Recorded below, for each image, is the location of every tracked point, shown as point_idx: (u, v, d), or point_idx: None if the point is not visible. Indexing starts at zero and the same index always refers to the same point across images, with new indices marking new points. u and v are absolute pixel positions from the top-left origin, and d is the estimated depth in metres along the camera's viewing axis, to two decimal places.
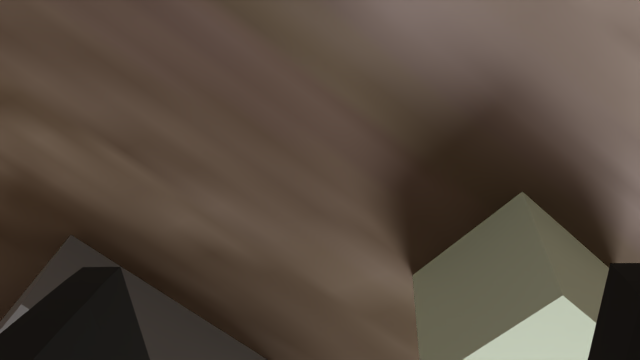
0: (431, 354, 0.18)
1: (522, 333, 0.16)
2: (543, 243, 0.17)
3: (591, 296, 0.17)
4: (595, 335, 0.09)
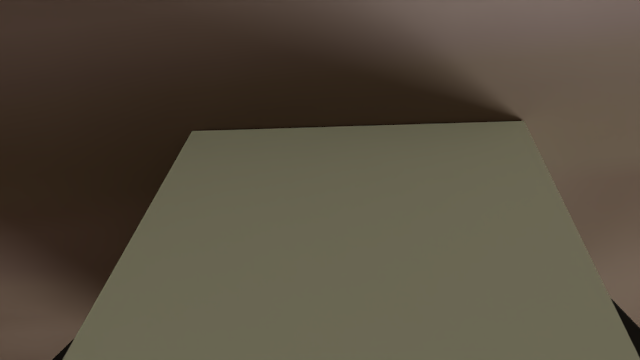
0: None
1: None
2: (135, 240, 0.07)
3: (280, 289, 0.06)
4: None
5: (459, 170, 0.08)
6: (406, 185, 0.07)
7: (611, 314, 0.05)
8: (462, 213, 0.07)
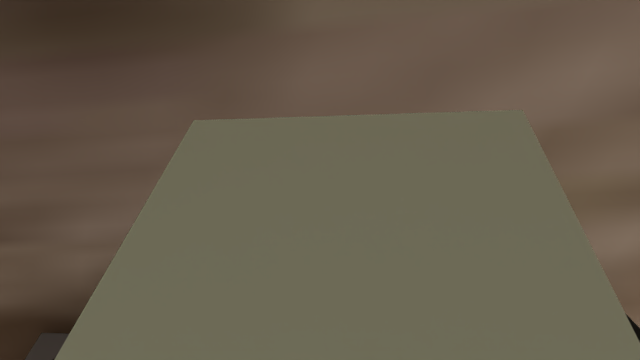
0: None
1: None
2: (138, 224, 0.07)
3: (282, 270, 0.06)
4: None
5: (458, 157, 0.08)
6: (406, 171, 0.08)
7: (607, 293, 0.05)
8: (461, 198, 0.07)
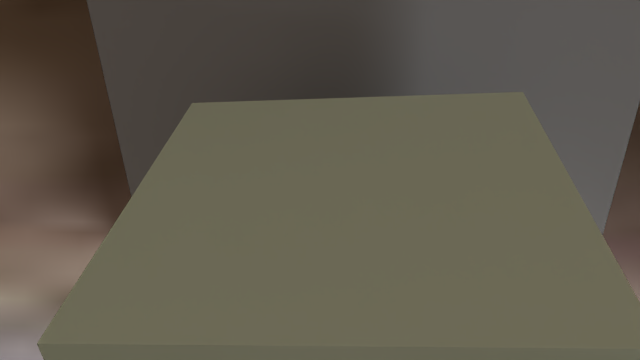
0: None
1: None
2: (135, 199, 0.07)
3: (279, 241, 0.06)
4: None
5: (458, 135, 0.08)
6: (405, 149, 0.07)
7: (609, 261, 0.05)
8: (461, 173, 0.07)
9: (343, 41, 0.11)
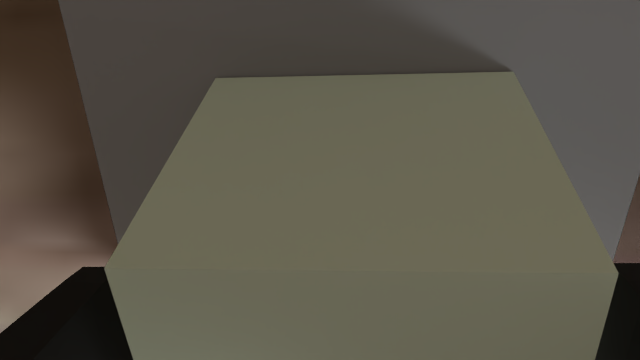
0: None
1: None
2: (173, 158, 0.08)
3: (301, 192, 0.07)
4: None
5: (455, 108, 0.09)
6: (408, 119, 0.09)
7: (579, 209, 0.06)
8: (457, 139, 0.08)
9: (338, 62, 0.10)
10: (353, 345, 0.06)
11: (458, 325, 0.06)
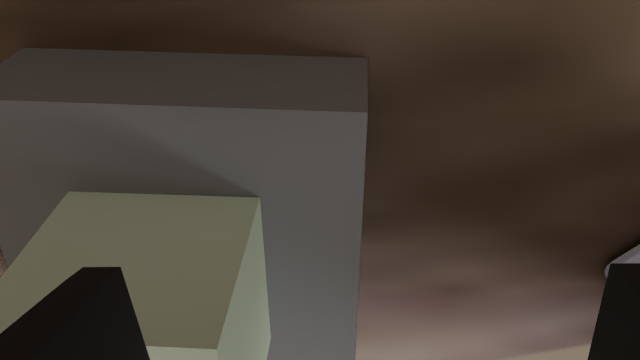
0: None
1: None
2: (17, 260, 0.13)
3: None
4: (595, 335, 0.09)
5: (204, 228, 0.14)
6: (171, 235, 0.14)
7: (226, 308, 0.12)
8: (191, 254, 0.13)
9: (149, 176, 0.15)
10: None
11: None
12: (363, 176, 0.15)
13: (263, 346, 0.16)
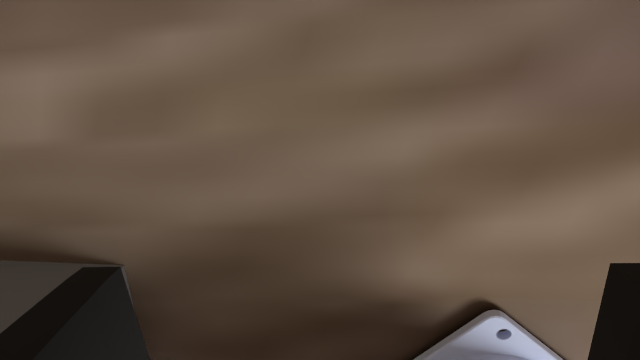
0: None
1: None
2: None
3: None
4: (595, 335, 0.09)
5: None
6: None
7: None
8: None
9: None
10: None
11: None
12: None
13: None
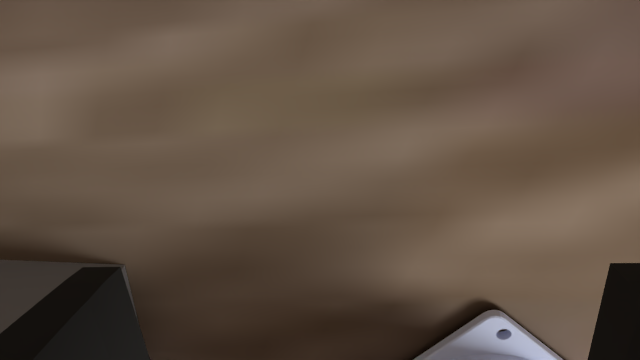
0: None
1: None
2: None
3: None
4: (595, 335, 0.09)
5: None
6: None
7: None
8: None
9: None
10: None
11: None
12: None
13: None
